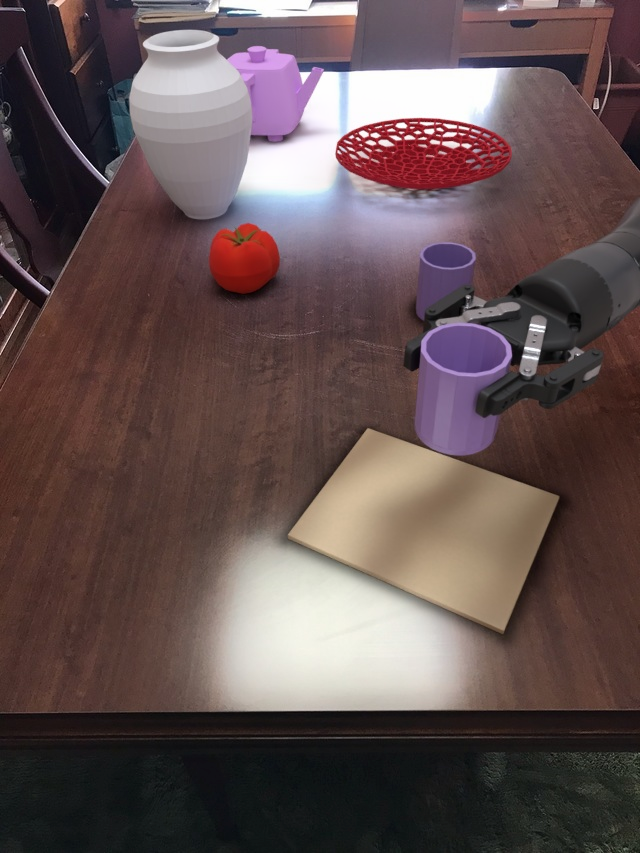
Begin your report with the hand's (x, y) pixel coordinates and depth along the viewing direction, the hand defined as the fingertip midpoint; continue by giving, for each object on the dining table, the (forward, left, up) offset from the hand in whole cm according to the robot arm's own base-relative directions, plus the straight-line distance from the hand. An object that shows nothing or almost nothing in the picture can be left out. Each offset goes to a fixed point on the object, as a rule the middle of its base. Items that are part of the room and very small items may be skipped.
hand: (443, 382), depth 51 cm
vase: (+57, -44, -17) cm, 74 cm away
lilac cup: (+12, -34, -17) cm, 39 cm away
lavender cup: (-1, -2, -6) cm, 6 cm away
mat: (0, -1, -17) cm, 17 cm away
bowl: (+31, -71, -17) cm, 79 cm away
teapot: (+68, -78, -17) cm, 105 cm away
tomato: (+38, -28, -17) cm, 50 cm away
